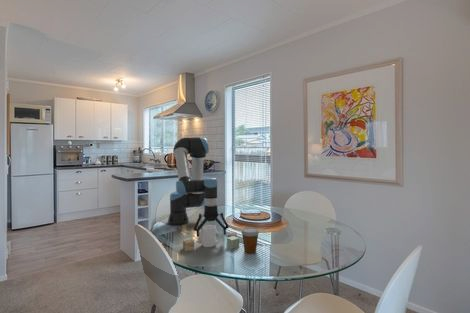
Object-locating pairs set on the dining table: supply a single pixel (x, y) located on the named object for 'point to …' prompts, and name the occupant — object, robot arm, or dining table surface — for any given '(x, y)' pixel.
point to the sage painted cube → (232, 242)
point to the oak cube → (188, 244)
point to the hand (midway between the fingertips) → (211, 241)
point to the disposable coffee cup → (250, 239)
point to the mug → (209, 236)
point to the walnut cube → (232, 234)
